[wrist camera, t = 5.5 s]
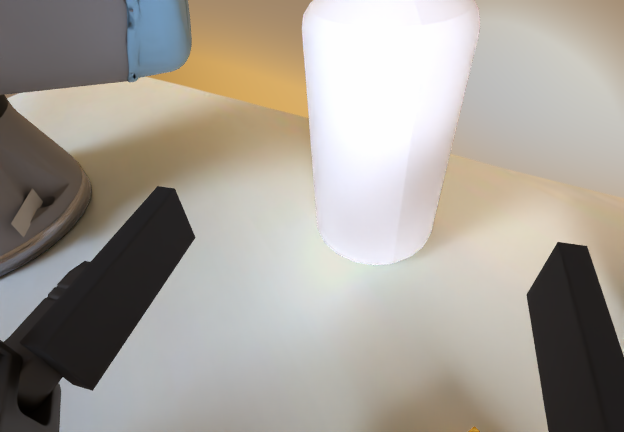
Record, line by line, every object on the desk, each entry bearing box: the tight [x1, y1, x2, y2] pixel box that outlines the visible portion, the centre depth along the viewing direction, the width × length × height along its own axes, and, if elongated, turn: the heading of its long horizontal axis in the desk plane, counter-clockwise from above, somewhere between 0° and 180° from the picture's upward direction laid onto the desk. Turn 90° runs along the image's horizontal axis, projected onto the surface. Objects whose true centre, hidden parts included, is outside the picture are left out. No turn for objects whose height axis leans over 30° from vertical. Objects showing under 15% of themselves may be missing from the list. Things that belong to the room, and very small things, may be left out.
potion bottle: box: [302, 0, 480, 265], centre depth 21 cm, size 8×8×18 cm
